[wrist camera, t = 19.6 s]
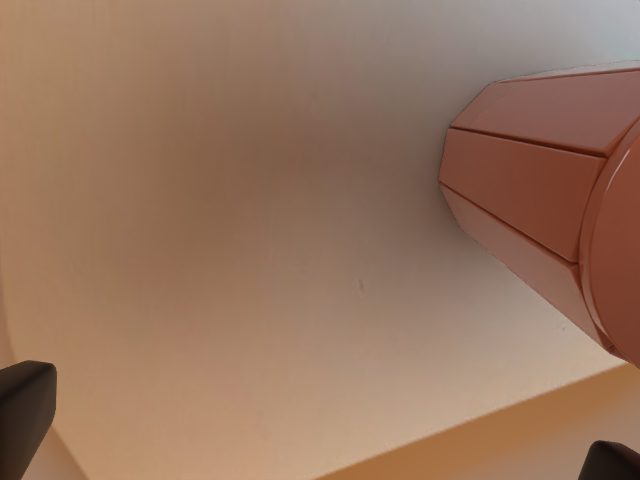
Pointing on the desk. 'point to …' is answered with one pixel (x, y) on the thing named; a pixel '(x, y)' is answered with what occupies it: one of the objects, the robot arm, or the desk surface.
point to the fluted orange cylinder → (558, 191)
